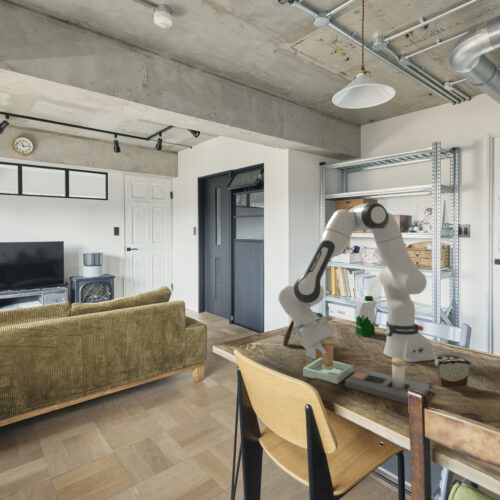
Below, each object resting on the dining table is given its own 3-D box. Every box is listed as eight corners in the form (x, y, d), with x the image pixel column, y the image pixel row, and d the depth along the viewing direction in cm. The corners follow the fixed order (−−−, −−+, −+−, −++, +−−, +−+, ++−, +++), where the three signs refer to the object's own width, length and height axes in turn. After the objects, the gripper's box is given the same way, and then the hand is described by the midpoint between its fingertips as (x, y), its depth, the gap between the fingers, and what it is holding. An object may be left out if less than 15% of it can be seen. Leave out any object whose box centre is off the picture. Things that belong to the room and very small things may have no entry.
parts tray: (303, 375, 135) (303, 368, 135) (320, 364, 146) (320, 357, 146) (337, 385, 126) (337, 377, 126) (352, 372, 137) (352, 365, 137)
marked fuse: (331, 365, 138) (332, 337, 138) (334, 369, 134) (335, 341, 133) (320, 365, 138) (320, 337, 138) (323, 369, 134) (323, 341, 133)
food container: (460, 379, 130) (460, 353, 129) (471, 387, 124) (471, 359, 123) (427, 380, 130) (427, 354, 129) (436, 388, 123) (437, 360, 123)
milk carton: (377, 335, 185) (377, 297, 183) (362, 337, 182) (363, 298, 181) (367, 331, 193) (367, 294, 192) (352, 332, 190) (353, 295, 189)
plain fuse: (402, 388, 122) (402, 357, 121) (407, 394, 118) (407, 362, 117) (389, 388, 122) (389, 357, 121) (394, 394, 118) (394, 362, 117)
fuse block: (345, 387, 125) (345, 380, 124) (360, 374, 135) (360, 367, 135) (418, 408, 110) (418, 400, 109) (428, 392, 120) (429, 384, 120)
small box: (315, 360, 151) (315, 330, 150) (305, 356, 156) (305, 327, 156) (329, 356, 155) (329, 327, 155) (318, 352, 161) (318, 324, 160)
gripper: (298, 322, 131) (321, 354, 126) (323, 312, 147) (345, 340, 142) (288, 332, 134) (310, 363, 129) (314, 321, 150) (335, 348, 145)
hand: (329, 351), depth 135 cm, fingers closed on marked fuse, 4 cm apart
